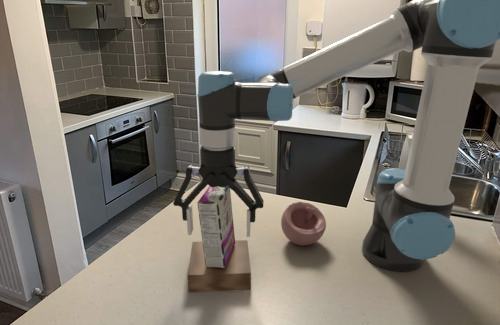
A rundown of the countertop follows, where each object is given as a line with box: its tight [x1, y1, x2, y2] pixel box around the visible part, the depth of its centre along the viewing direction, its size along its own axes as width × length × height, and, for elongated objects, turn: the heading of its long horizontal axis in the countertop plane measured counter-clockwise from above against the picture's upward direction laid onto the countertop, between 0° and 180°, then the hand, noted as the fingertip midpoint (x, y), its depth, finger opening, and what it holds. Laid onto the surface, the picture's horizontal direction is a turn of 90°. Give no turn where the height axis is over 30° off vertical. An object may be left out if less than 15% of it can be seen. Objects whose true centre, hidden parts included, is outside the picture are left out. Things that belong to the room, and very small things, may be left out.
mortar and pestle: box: [280, 201, 327, 246], centre depth 104 cm, size 12×12×11 cm
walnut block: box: [186, 239, 252, 293], centre depth 92 cm, size 14×14×5 cm
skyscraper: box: [398, 130, 414, 170], centre depth 119 cm, size 8×8×28 cm
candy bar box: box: [197, 185, 236, 268], centre depth 88 cm, size 11×5×16 cm, turn 170°
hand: (219, 233), depth 89 cm, fingers open, 13 cm apart
